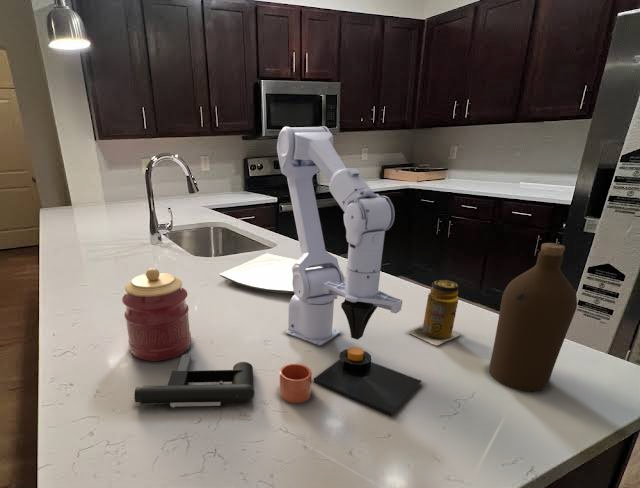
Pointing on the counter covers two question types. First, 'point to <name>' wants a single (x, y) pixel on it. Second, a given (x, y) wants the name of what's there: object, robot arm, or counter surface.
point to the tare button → (355, 354)
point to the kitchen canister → (156, 316)
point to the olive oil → (533, 323)
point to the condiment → (439, 313)
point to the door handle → (200, 386)
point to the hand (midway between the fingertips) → (356, 336)
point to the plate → (265, 273)
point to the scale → (368, 383)
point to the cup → (295, 383)
